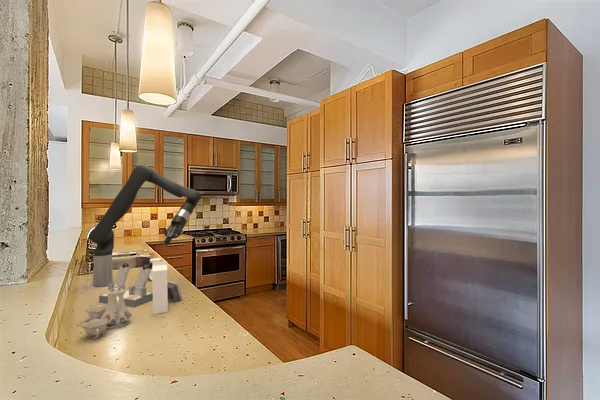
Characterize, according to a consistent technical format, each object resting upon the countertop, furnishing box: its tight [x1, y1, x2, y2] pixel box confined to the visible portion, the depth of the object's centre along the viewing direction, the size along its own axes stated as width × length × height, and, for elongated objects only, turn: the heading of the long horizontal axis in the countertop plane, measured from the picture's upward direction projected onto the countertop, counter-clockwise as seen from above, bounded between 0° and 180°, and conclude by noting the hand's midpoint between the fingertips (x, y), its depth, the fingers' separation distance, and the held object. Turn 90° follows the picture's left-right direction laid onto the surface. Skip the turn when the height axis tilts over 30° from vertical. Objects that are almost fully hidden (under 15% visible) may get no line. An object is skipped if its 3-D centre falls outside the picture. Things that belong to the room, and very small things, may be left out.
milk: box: [151, 260, 169, 315], centre depth 141 cm, size 6×6×22 cm
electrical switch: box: [167, 280, 183, 303], centre depth 156 cm, size 9×5×9 cm, turn 57°
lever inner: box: [113, 262, 131, 287], centre depth 160 cm, size 5×3×14 cm, turn 72°
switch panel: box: [98, 282, 153, 308], centre depth 155 cm, size 22×12×7 cm, turn 72°
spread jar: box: [147, 257, 163, 281], centre depth 195 cm, size 12×11×12 cm
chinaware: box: [81, 284, 133, 340], centre depth 125 cm, size 28×17×17 cm, turn 35°
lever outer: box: [133, 264, 151, 294], centre depth 156 cm, size 5×3×14 cm, turn 72°
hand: (165, 243), depth 170 cm, fingers closed
